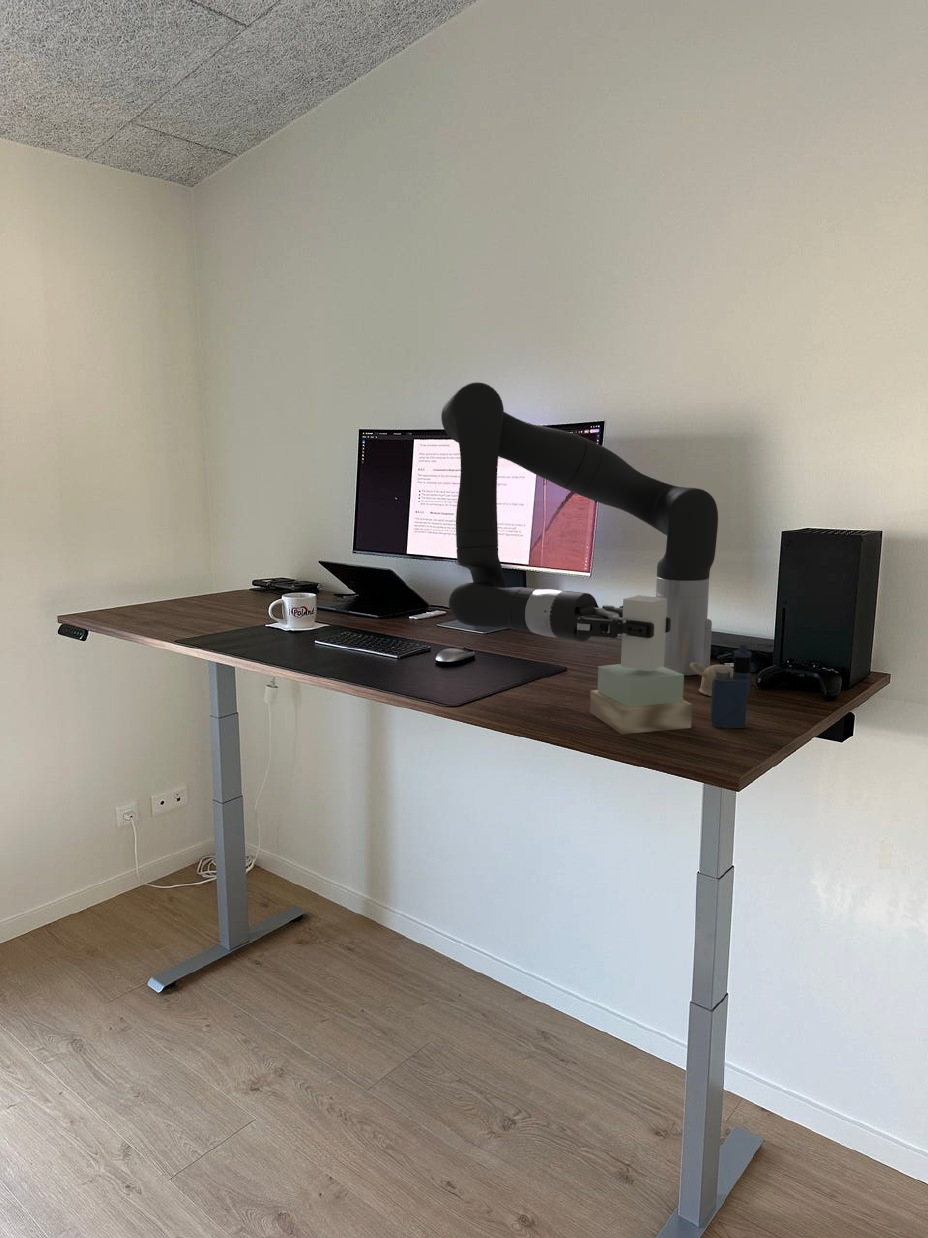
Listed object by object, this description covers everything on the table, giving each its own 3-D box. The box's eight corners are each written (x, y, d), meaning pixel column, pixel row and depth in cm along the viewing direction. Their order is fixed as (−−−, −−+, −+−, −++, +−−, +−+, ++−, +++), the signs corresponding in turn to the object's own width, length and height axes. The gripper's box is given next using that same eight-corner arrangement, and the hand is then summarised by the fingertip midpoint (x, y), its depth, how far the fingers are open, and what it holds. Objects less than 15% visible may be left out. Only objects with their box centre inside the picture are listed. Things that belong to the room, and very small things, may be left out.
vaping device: (748, 730, 122) (753, 648, 119) (710, 727, 123) (714, 646, 120) (746, 724, 124) (751, 644, 122) (709, 722, 125) (713, 642, 123)
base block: (654, 709, 133) (655, 685, 132) (691, 730, 123) (692, 704, 122) (590, 715, 130) (590, 690, 130) (621, 737, 120) (622, 710, 119)
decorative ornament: (741, 700, 137) (743, 668, 136) (688, 696, 139) (690, 664, 138) (741, 693, 141) (743, 662, 140) (689, 690, 143) (691, 659, 142)
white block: (635, 660, 128) (638, 595, 126) (664, 665, 125) (667, 598, 123) (620, 666, 124) (623, 599, 122) (649, 671, 121) (652, 602, 119)
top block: (648, 686, 132) (649, 661, 131) (682, 701, 123) (684, 674, 123) (597, 691, 129) (598, 666, 128) (629, 707, 120) (630, 680, 120)
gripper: (535, 596, 126) (638, 608, 116) (586, 585, 137) (684, 596, 126) (534, 645, 128) (636, 662, 117) (584, 630, 138) (682, 645, 128)
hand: (660, 627), depth 122 cm, fingers closed on white block, 4 cm apart
